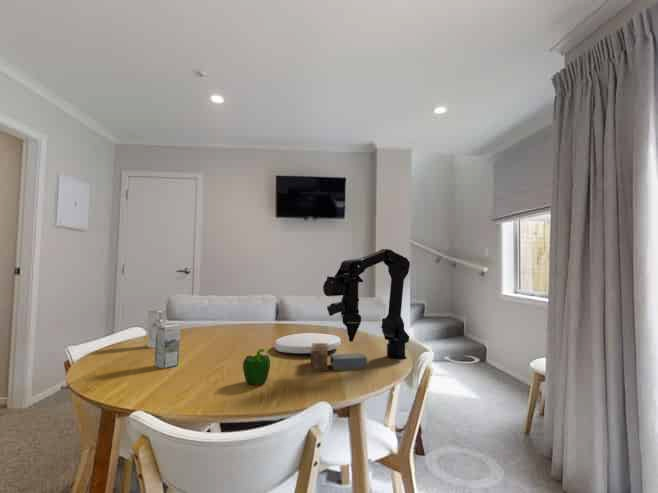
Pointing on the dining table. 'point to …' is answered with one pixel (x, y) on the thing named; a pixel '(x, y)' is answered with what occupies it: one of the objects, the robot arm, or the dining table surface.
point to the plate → (305, 342)
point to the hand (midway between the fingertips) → (350, 338)
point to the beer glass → (154, 325)
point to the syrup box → (167, 345)
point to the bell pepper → (256, 368)
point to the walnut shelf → (319, 356)
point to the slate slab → (348, 361)
